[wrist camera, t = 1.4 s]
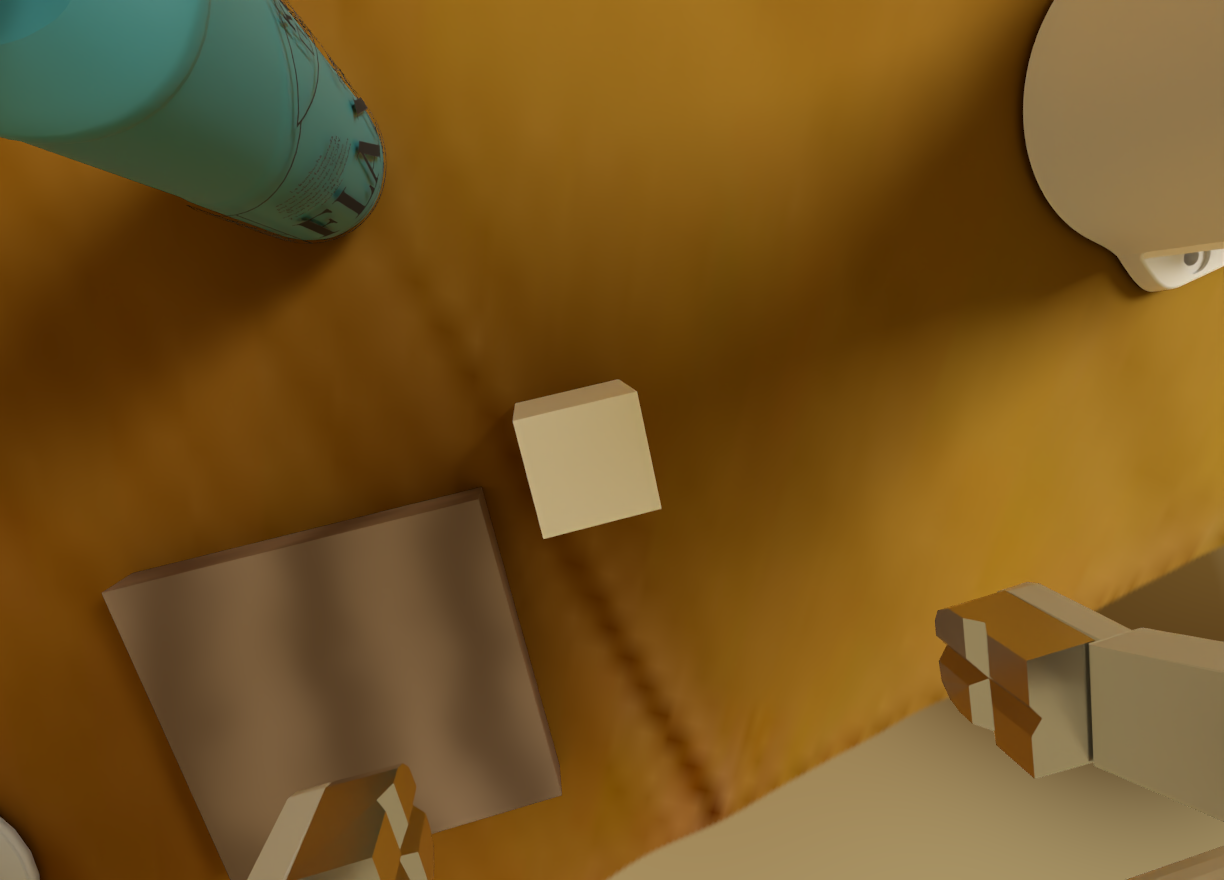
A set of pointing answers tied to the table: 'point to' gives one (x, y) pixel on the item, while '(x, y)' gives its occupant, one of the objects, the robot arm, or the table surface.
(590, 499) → the off-white cube
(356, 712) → the walnut base
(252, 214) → the beverage bottle
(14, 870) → the chalice
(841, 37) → the table surface
